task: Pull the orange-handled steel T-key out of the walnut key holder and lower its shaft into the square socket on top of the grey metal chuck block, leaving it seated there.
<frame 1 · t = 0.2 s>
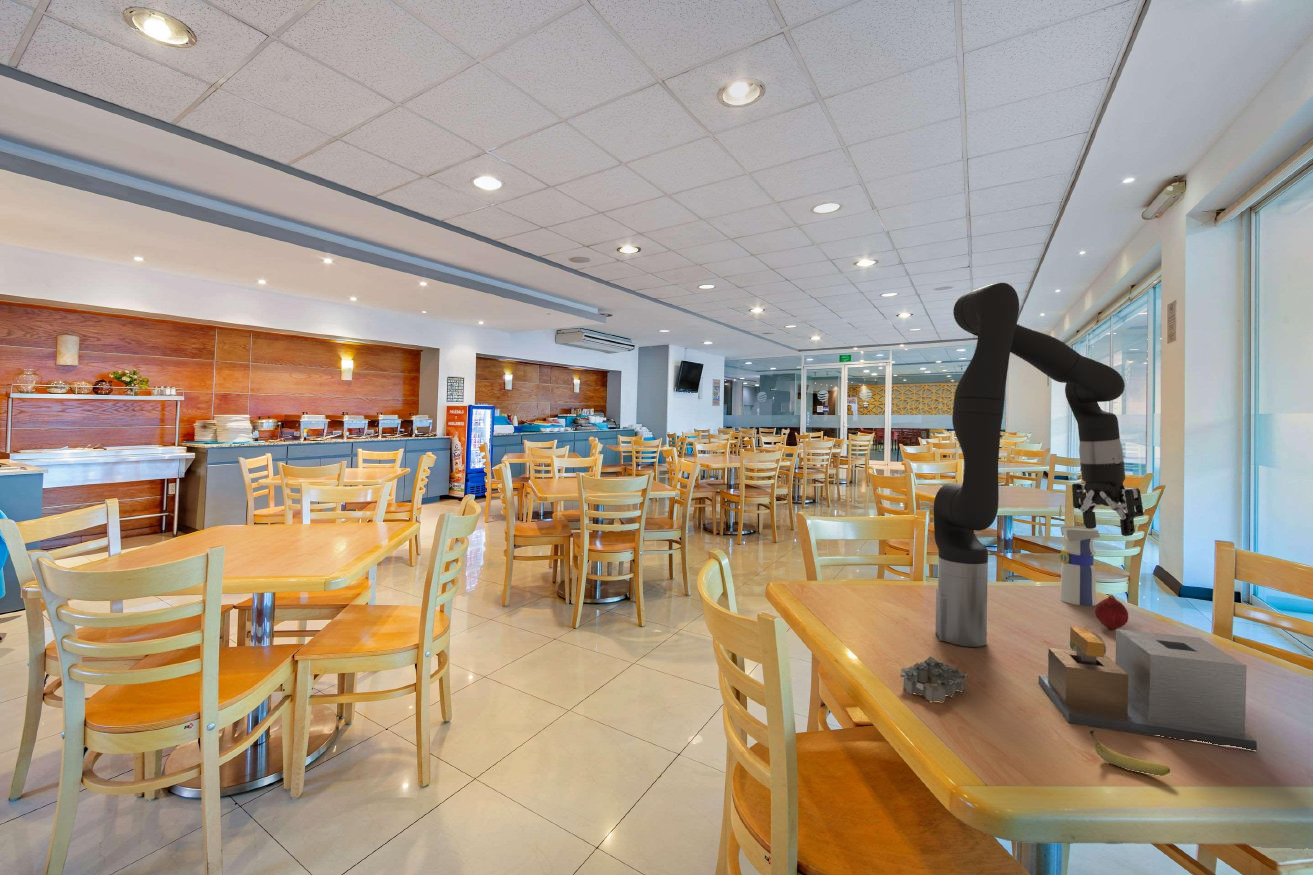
hand: (1108, 531, 121), 22 cm above the table, tool pointing down, fingers open, 8 cm apart
key: (1085, 684, 88), point 3 cm above the table, touching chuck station
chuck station: (1134, 713, 86), on the table
banana: (1127, 771, 72), on the table
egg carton: (933, 691, 94), on the table
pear: (1087, 663, 106), on the table
onion: (1111, 630, 123), on the table
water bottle: (1077, 602, 143), on the table
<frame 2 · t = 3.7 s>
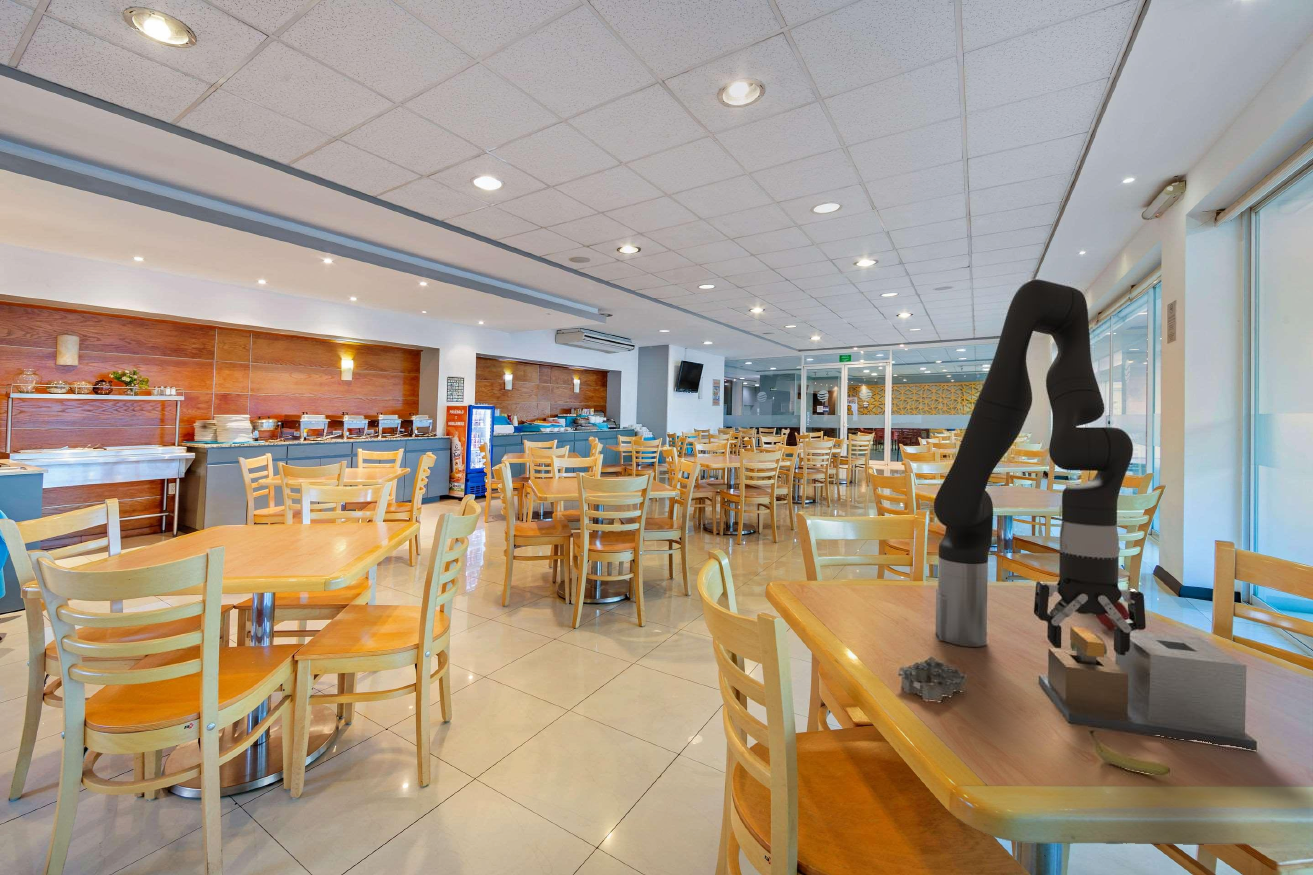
hand: (1087, 649, 88), 9 cm above the table, tool pointing down, fingers open, 8 cm apart
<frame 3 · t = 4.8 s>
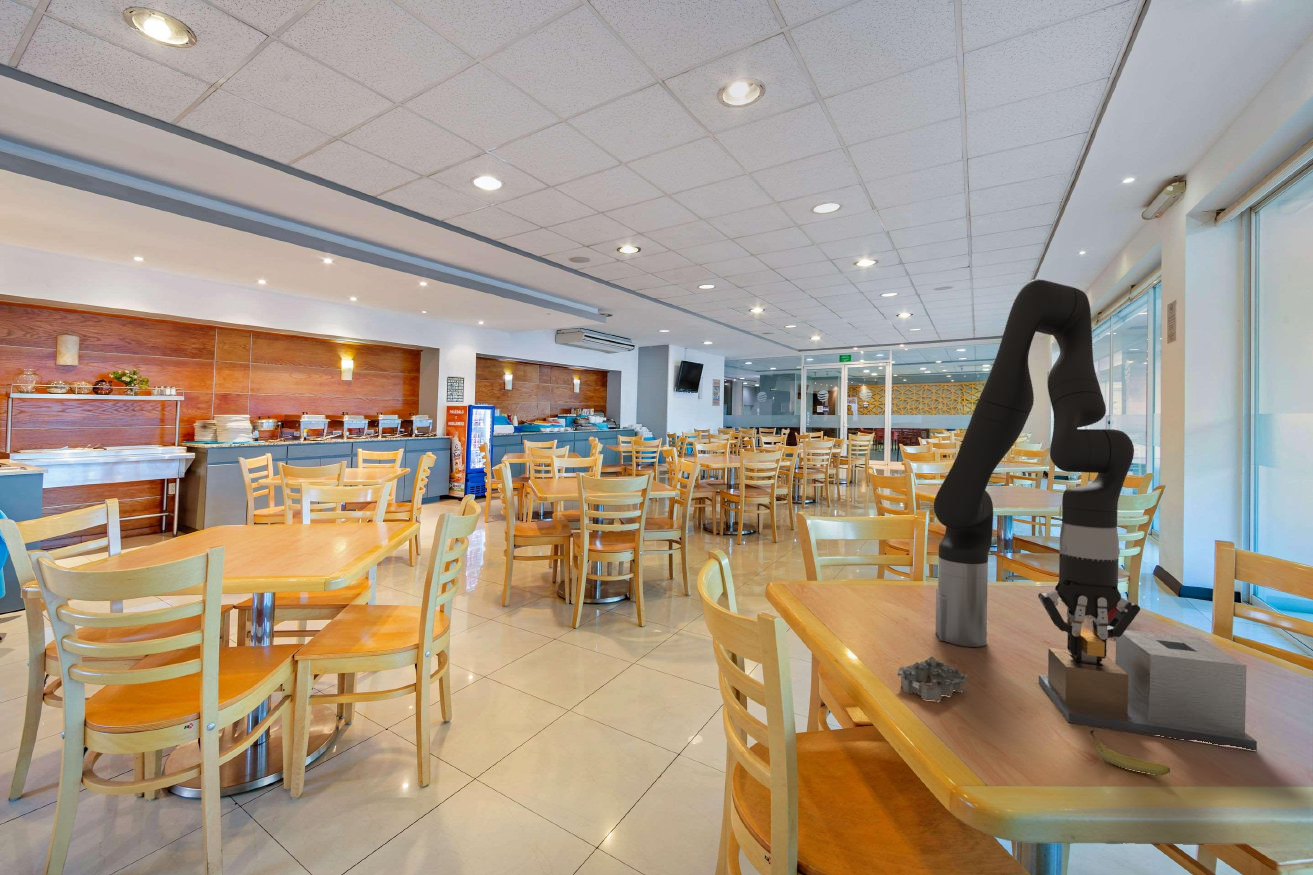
hand: (1086, 657, 88), 8 cm above the table, tool pointing down, fingers closed on key, 2 cm apart
key: (1086, 684, 88), point 4 cm above the table, touching gripper
everything else where it was.
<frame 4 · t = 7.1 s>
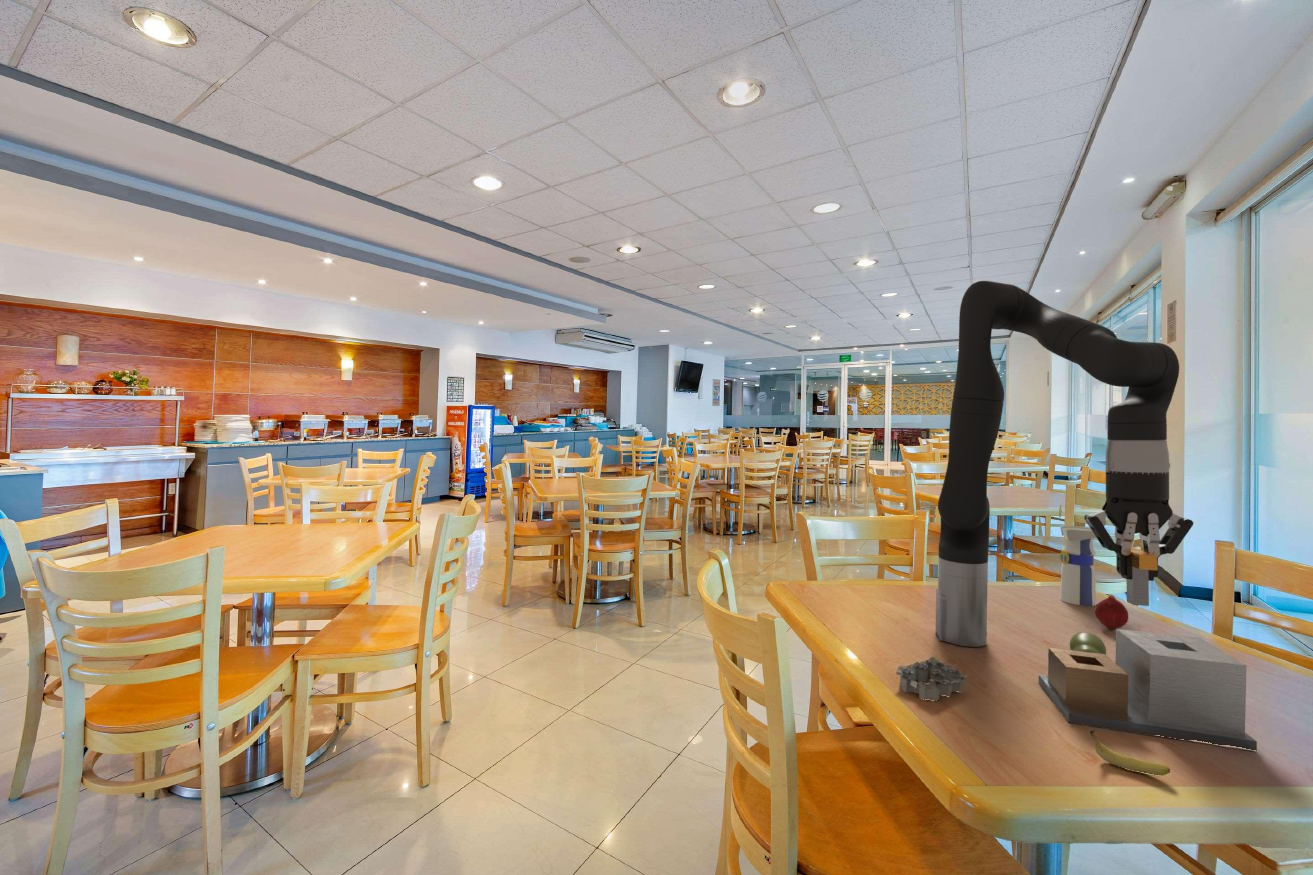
hand: (1136, 578, 86), 22 cm above the table, tool pointing down, fingers closed on key
key: (1137, 603, 86), point 18 cm above the table, touching gripper
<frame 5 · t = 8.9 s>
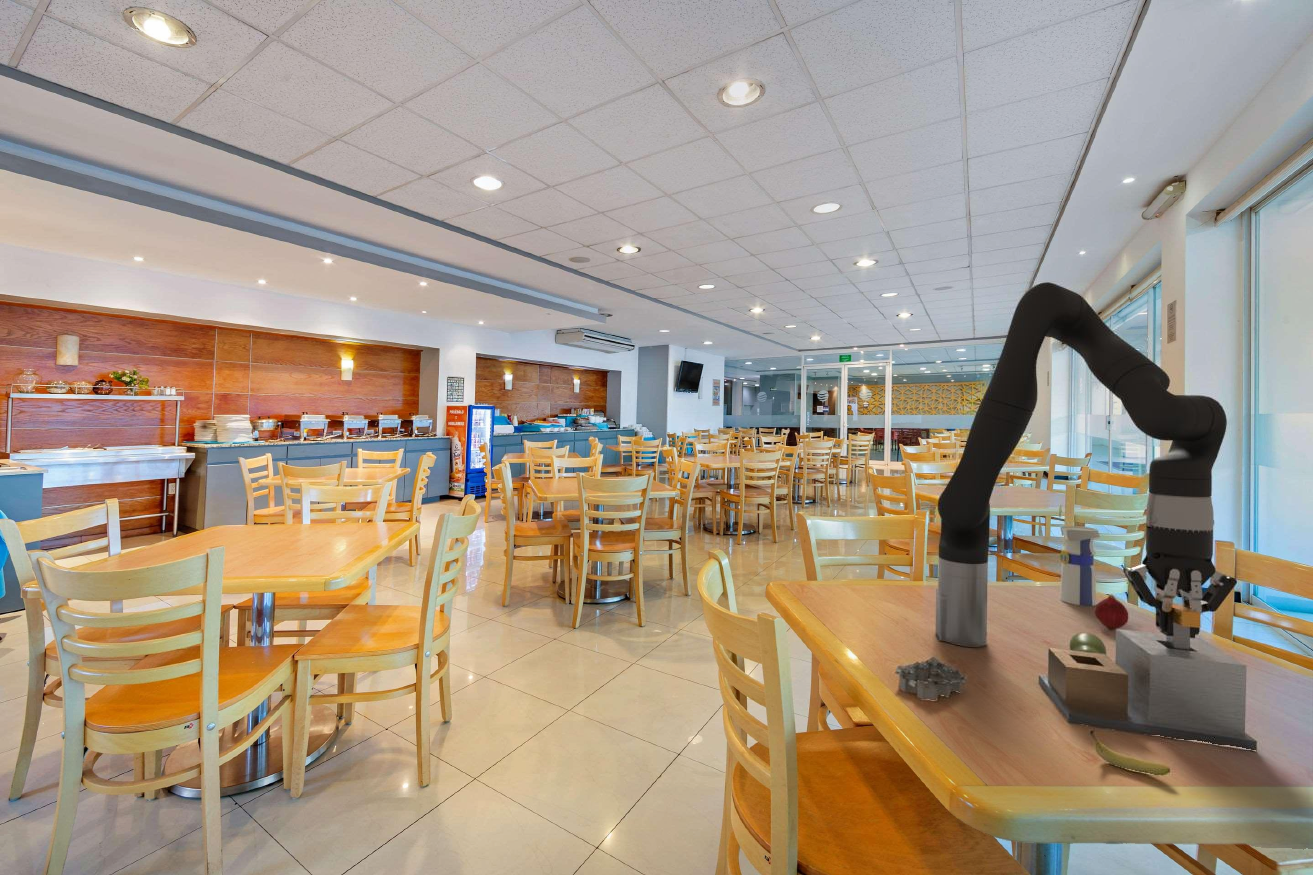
hand: (1176, 634, 85), 13 cm above the table, tool pointing down, fingers closed on key, 2 cm apart
key: (1178, 660, 84), point 9 cm above the table, touching gripper
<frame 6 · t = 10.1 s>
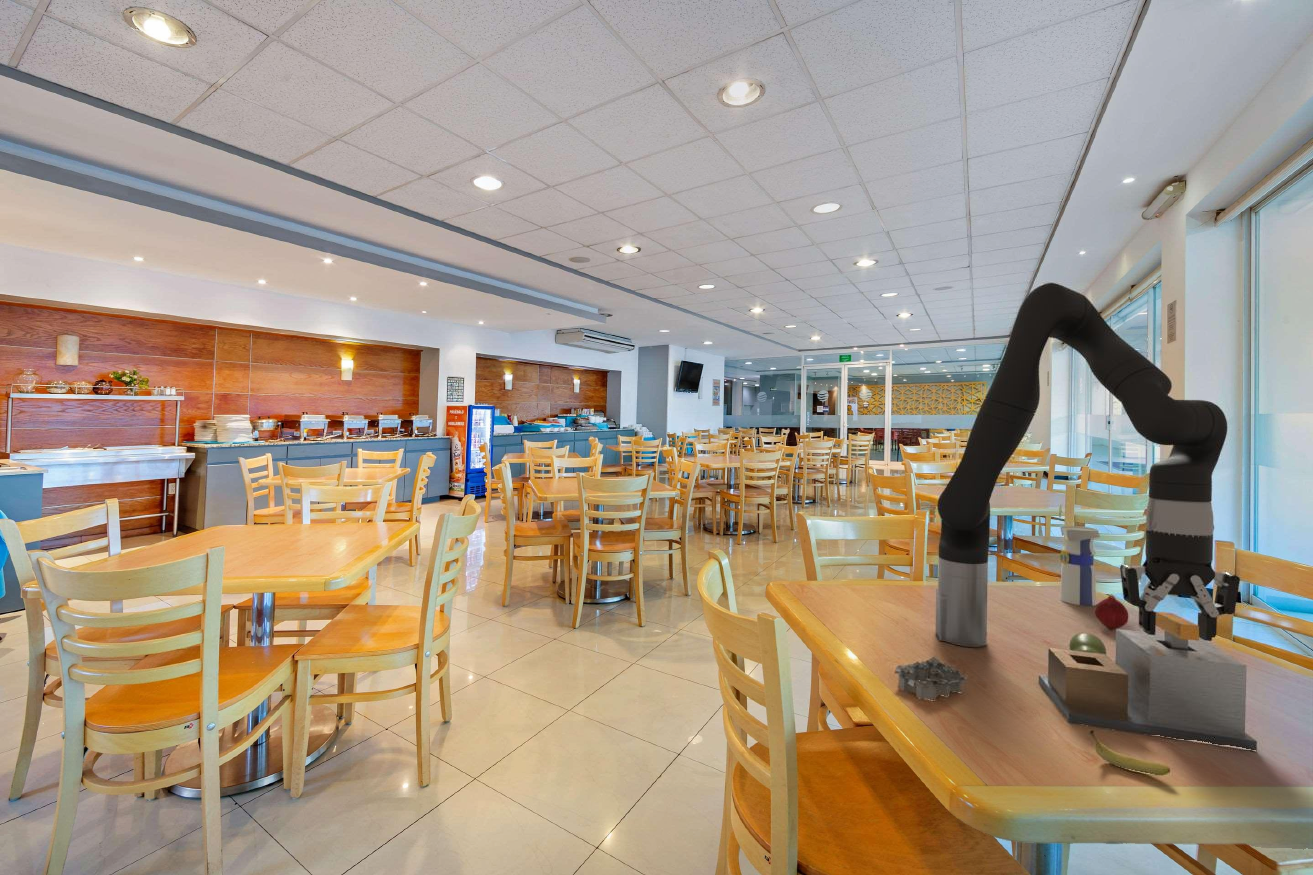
hand: (1176, 635, 84), 13 cm above the table, tool pointing down, fingers open, 6 cm apart
key: (1176, 671, 84), point 8 cm above the table, touching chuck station
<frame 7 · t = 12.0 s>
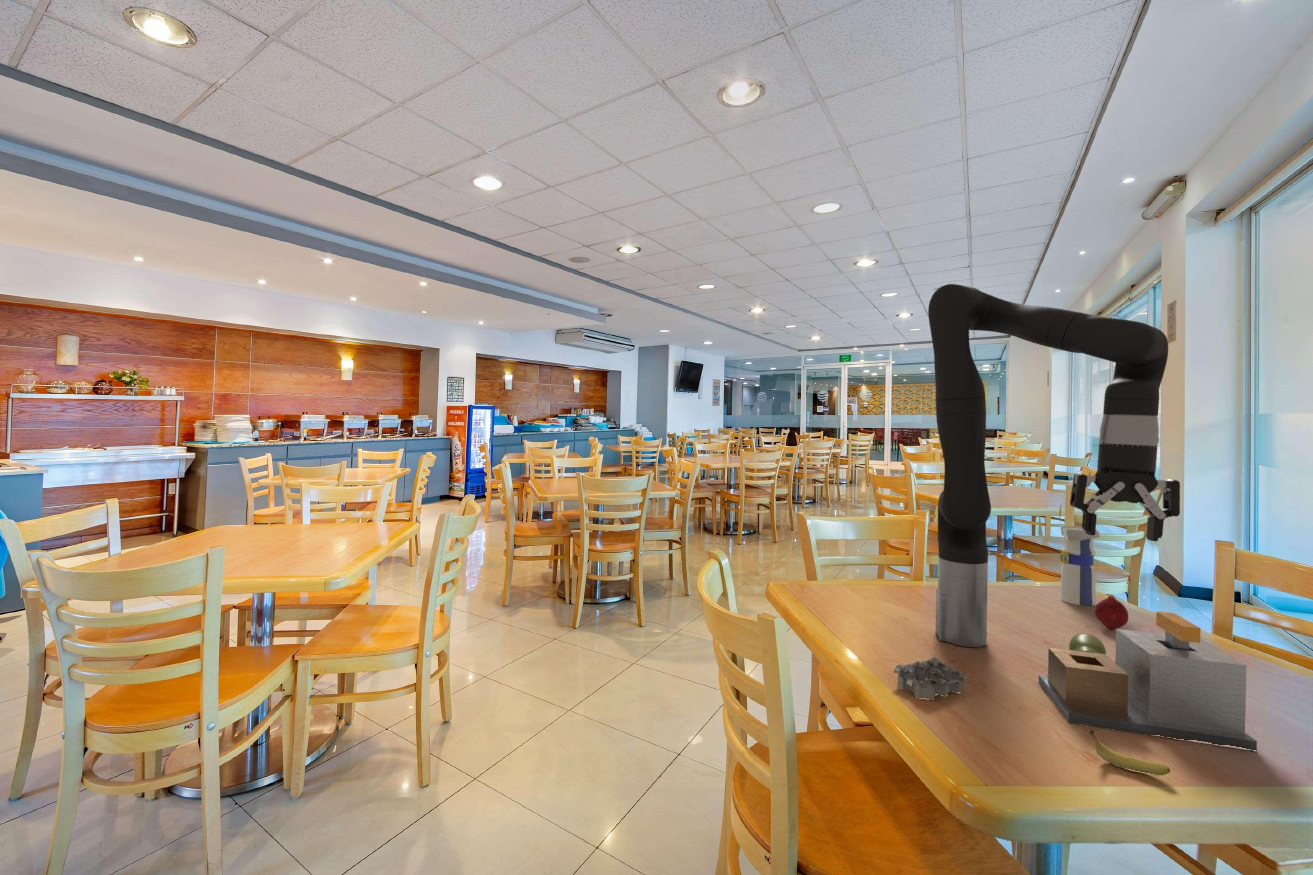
hand: (1120, 537, 93), 27 cm above the table, tool pointing down, fingers open, 8 cm apart
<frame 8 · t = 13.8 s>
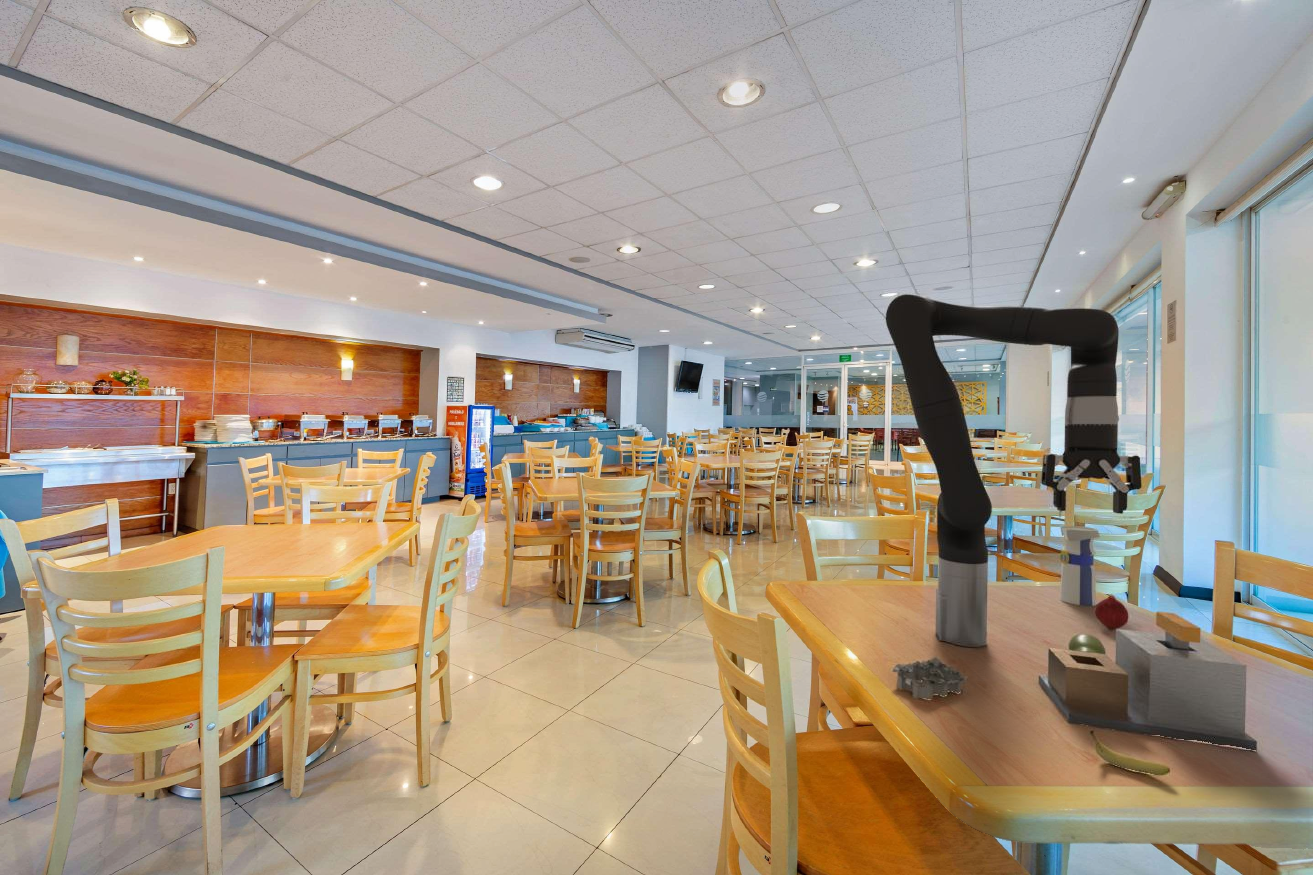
hand: (1089, 511, 99), 30 cm above the table, tool pointing down, fingers open, 8 cm apart
at the end: key 0.3 cm from the target spot on the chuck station, point 7.5 cm above the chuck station's base; key tilted 0°; the gripper is holding nothing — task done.
